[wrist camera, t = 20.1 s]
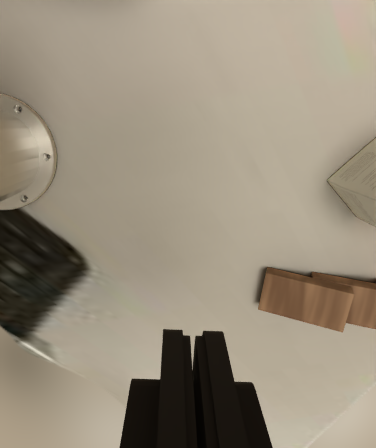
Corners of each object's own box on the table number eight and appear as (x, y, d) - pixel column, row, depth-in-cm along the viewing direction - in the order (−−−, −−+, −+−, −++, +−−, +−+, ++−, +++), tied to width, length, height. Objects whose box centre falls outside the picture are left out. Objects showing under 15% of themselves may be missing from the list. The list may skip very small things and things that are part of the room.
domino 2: (305, 314, 44) (391, 332, 42) (313, 277, 43) (403, 295, 40) (304, 306, 46) (387, 324, 44) (312, 271, 44) (397, 287, 42)
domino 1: (257, 309, 44) (342, 332, 41) (265, 272, 42) (354, 294, 40) (259, 302, 45) (340, 323, 43) (267, 266, 44) (351, 287, 42)
